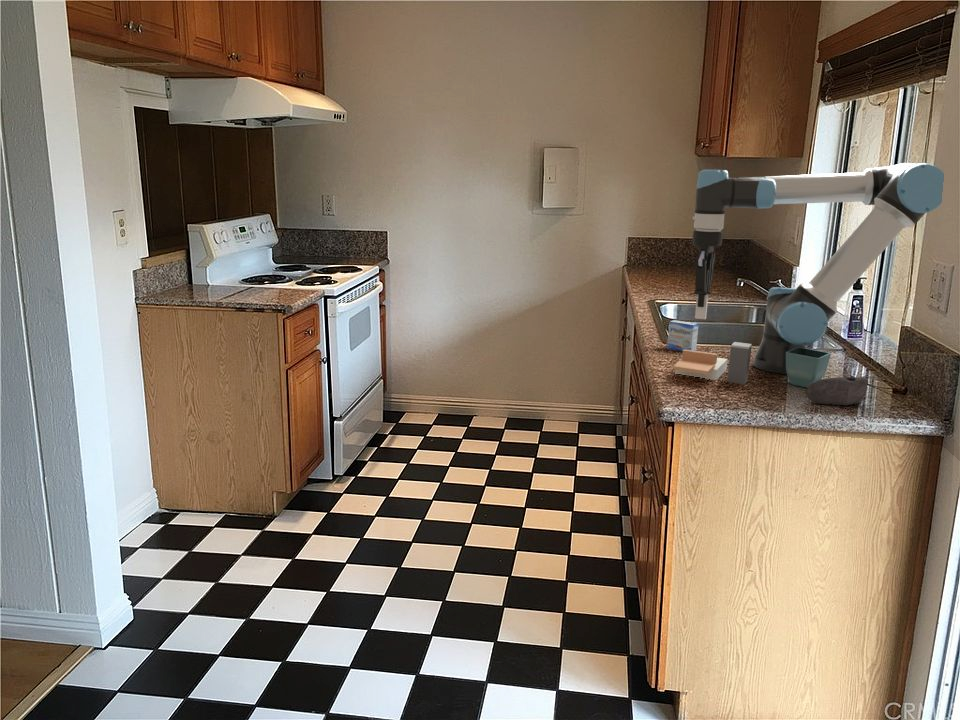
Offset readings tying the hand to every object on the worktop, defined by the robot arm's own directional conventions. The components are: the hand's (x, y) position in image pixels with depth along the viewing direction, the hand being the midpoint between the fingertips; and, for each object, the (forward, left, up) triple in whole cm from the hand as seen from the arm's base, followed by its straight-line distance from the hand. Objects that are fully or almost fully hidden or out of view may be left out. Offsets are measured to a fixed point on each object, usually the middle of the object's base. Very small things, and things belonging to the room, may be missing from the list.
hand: (700, 318), depth 216 cm
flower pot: (-28, -4, -16) cm, 32 cm away
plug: (-12, +2, -15) cm, 19 cm away
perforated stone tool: (-37, +10, -16) cm, 41 cm away
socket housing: (-1, -2, -15) cm, 16 cm away
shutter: (-1, +6, -12) cm, 14 cm away
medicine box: (+10, -26, -16) cm, 32 cm away
